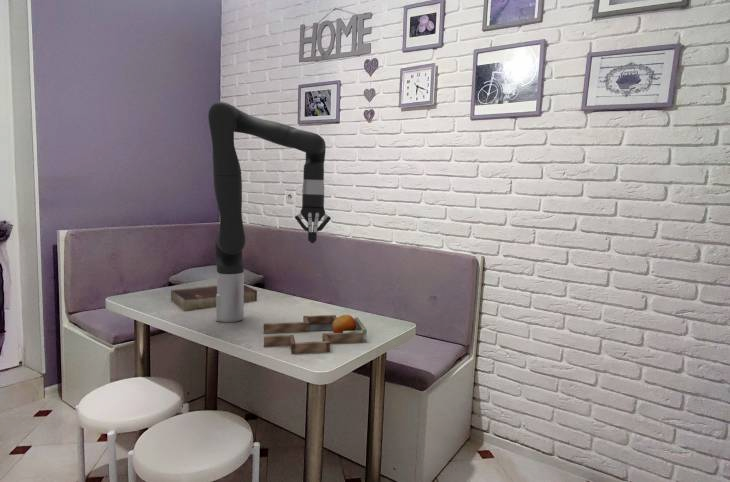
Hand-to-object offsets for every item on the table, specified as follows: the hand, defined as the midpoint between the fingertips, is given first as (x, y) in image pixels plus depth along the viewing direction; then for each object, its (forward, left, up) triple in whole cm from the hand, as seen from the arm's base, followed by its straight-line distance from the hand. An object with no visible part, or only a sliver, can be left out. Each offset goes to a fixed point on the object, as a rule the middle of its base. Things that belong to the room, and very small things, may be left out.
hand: (312, 242), depth 157 cm
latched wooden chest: (-36, +34, -30) cm, 58 cm away
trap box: (0, -15, -29) cm, 33 cm away
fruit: (+10, -15, -29) cm, 34 cm away
